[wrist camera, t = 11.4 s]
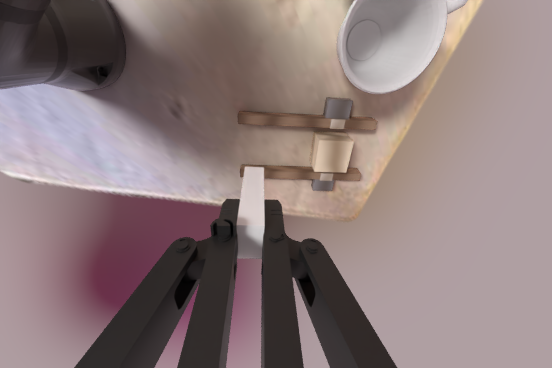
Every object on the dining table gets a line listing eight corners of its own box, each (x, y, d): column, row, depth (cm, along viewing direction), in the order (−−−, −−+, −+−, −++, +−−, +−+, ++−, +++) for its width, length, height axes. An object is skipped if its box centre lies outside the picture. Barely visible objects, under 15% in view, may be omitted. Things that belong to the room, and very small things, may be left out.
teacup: (424, 51, 34) (477, 51, 25) (335, 97, 37) (356, 111, 28) (413, -45, 28) (479, -88, 19) (309, 19, 31) (325, 7, 22)
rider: (309, 160, 43) (314, 171, 39) (313, 131, 40) (319, 140, 36) (338, 160, 43) (346, 172, 39) (344, 132, 40) (354, 141, 36)
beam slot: (242, 183, 45) (240, 190, 43) (238, 92, 36) (237, 95, 33) (351, 186, 47) (356, 193, 44) (376, 100, 37) (384, 103, 35)
